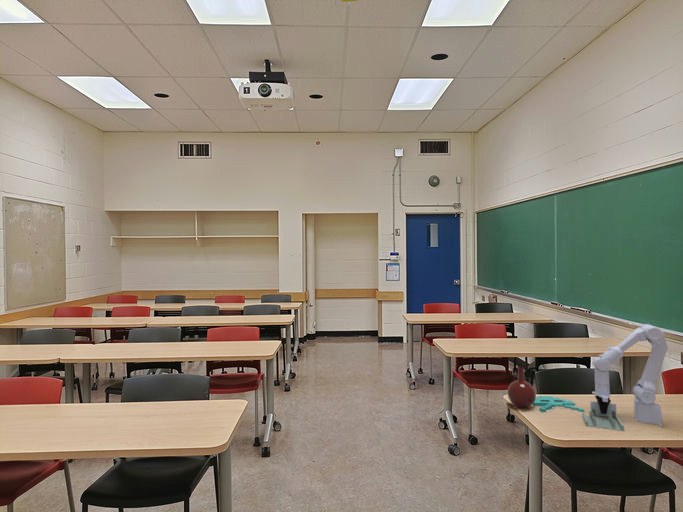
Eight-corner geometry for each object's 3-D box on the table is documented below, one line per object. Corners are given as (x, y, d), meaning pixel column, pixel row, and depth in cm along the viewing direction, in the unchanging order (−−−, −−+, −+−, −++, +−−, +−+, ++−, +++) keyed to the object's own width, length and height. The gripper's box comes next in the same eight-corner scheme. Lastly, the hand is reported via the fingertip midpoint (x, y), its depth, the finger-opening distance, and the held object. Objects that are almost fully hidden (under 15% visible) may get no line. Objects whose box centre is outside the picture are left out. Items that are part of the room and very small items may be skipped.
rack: (618, 422, 178) (617, 413, 178) (624, 433, 166) (624, 423, 166) (582, 417, 184) (581, 409, 184) (586, 427, 172) (585, 418, 172)
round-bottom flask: (515, 412, 192) (514, 370, 193) (503, 402, 205) (502, 364, 206) (541, 411, 193) (540, 370, 194) (527, 402, 206) (526, 364, 207)
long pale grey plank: (615, 416, 182) (615, 403, 182) (616, 417, 181) (615, 404, 181) (590, 413, 186) (590, 401, 187) (591, 414, 185) (590, 401, 185)
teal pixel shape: (584, 414, 189) (565, 400, 209) (584, 409, 189) (565, 396, 209) (541, 413, 191) (526, 399, 211) (541, 408, 191) (526, 395, 211)
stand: (616, 417, 184) (615, 408, 184) (618, 421, 179) (618, 413, 179) (588, 413, 189) (588, 405, 189) (590, 418, 183) (590, 409, 183)
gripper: (589, 378, 192) (590, 406, 192) (594, 386, 179) (595, 416, 179) (606, 380, 189) (608, 408, 189) (612, 388, 176) (614, 419, 176)
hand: (603, 412), depth 184 cm, fingers closed on long pale grey plank, 1 cm apart
